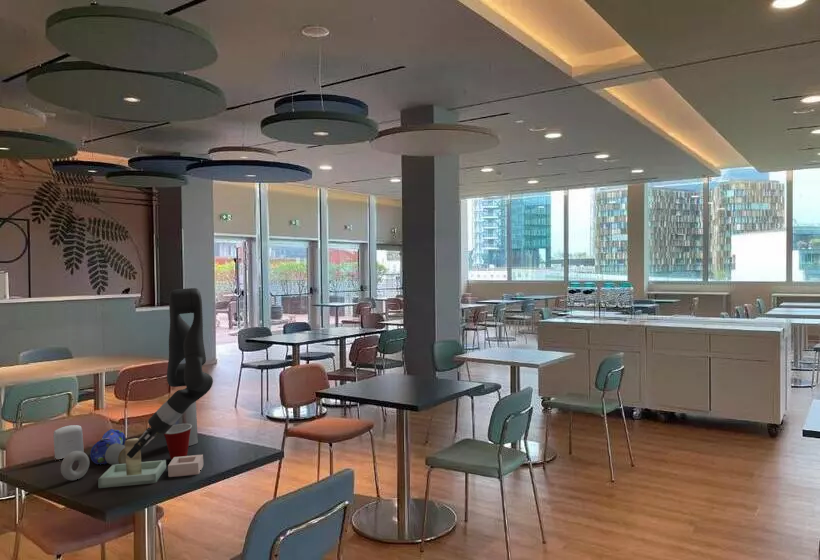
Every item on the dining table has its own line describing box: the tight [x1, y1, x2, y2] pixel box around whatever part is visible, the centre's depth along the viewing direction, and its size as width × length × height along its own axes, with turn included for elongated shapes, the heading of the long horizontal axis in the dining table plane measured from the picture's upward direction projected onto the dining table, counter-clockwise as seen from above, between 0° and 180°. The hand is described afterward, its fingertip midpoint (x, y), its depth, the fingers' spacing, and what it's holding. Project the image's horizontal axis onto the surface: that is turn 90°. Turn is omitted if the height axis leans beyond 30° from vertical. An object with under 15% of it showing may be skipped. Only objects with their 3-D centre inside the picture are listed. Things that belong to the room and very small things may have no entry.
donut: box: [60, 451, 90, 481], centre depth 212 cm, size 10×4×10 cm, turn 154°
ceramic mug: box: [105, 443, 126, 466], centre depth 228 cm, size 11×8×8 cm
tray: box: [97, 459, 167, 489], centre depth 211 cm, size 16×18×3 cm
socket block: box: [167, 454, 204, 478], centre depth 216 cm, size 10×10×4 cm
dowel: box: [124, 437, 142, 476], centre depth 211 cm, size 5×5×12 cm
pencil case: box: [89, 428, 126, 466], centre depth 238 cm, size 22×9×10 cm, turn 14°
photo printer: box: [53, 424, 85, 459], centre depth 240 cm, size 10×4×12 cm, turn 137°
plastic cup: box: [163, 424, 192, 461], centre depth 232 cm, size 11×11×12 cm
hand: (132, 452), depth 211 cm, fingers open, 8 cm apart
